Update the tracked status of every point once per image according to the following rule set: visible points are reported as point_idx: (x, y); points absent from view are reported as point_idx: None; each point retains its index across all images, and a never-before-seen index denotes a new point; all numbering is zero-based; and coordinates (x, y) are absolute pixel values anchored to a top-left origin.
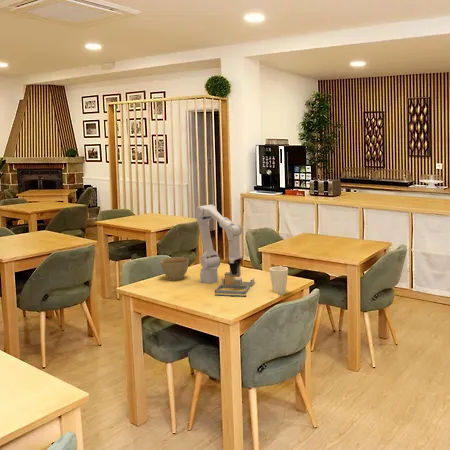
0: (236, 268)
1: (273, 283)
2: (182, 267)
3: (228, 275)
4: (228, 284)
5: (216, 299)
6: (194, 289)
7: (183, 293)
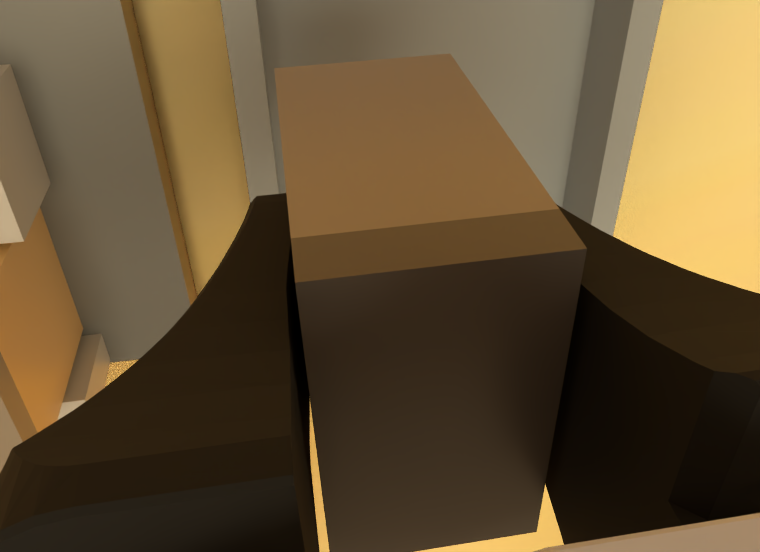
0: (641, 258)
1: None
2: None
3: (24, 391)
4: (71, 278)
5: (718, 199)
6: (320, 530)
7: (477, 546)
